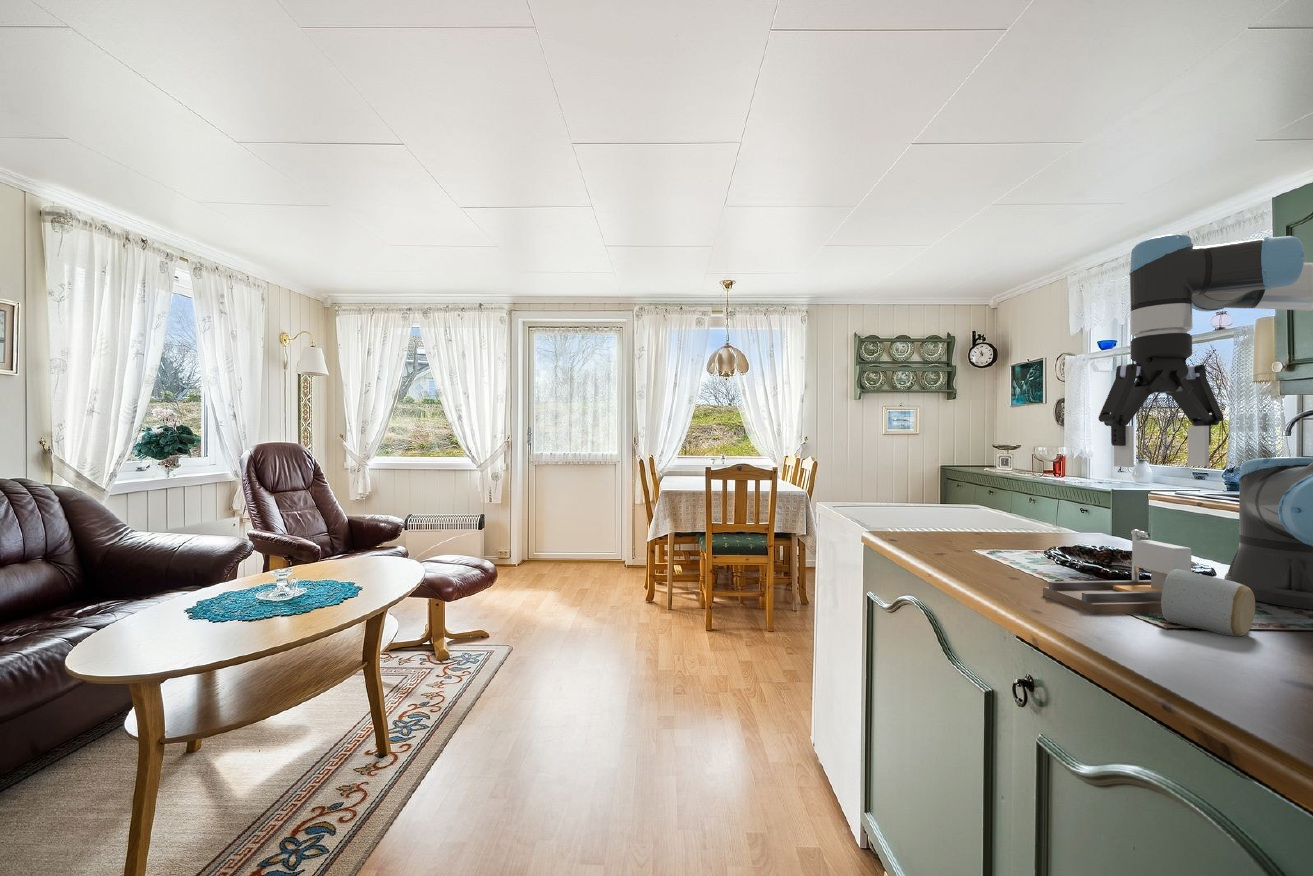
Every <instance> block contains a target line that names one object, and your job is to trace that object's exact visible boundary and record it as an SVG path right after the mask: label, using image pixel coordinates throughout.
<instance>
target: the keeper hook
mask: <svg viewBox="0 0 1313 876" xmlns="http://www.w3.org/2000/svg"><path fill="white" fill-rule="evenodd" d="M1130 533H1131V535H1132V539H1131V540H1140V537H1141V538H1147V539H1148V538H1150V536H1151V533H1150V532H1149V531H1142V530H1139V529H1138V528H1137V529H1132V530H1131V531H1130ZM1131 580H1140V567H1136V566H1132V565H1131Z"/></svg>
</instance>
